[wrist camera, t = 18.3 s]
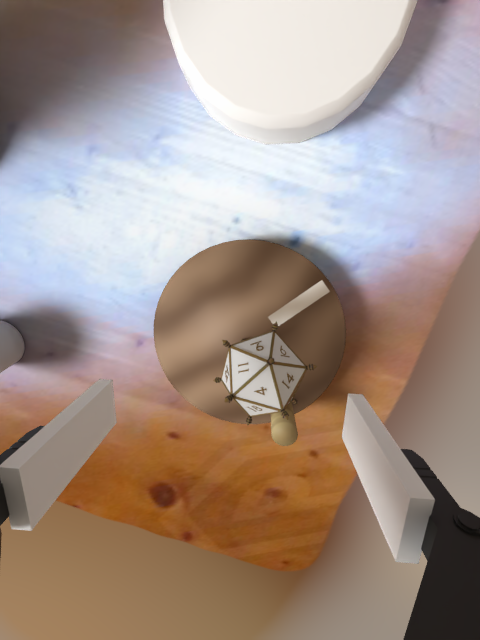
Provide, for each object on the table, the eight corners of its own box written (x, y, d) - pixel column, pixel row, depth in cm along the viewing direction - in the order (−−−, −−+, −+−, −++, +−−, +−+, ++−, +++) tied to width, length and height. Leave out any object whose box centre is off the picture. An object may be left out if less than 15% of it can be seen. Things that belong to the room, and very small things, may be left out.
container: (200, 166, 29) (188, 151, 25) (151, -83, 25) (127, -156, 20) (406, 119, 27) (434, 93, 22) (392, -164, 23) (424, -267, 18)
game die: (227, 293, 26) (279, 377, 19) (294, 312, 30) (355, 385, 23) (187, 365, 29) (217, 457, 22) (252, 372, 34) (294, 449, 27)
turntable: (124, 312, 33) (88, 329, 26) (270, 198, 29) (272, 182, 22) (230, 442, 36) (222, 487, 29) (376, 355, 31) (407, 383, 25)
